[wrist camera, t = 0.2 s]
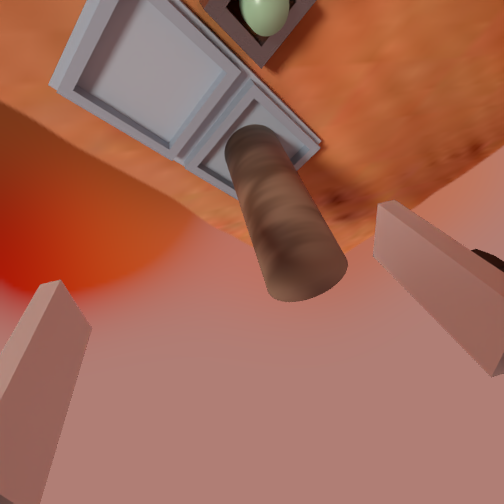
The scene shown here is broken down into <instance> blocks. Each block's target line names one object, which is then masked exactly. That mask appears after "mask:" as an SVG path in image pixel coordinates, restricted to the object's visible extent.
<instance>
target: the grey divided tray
mask: <svg viewBox="0 0 504 504" xmlns="http://www.w3.org/2000/svg"><path fill="white" fill-rule="evenodd" d="M48 85H49V86H51V87H52V88H54V89H56V90H57V93H58V94H60V95H62V96H63V97H65V98H67V99H68V100H70V101H72V102H73V103H75V104H77V105H78V106H80V107H82V108H84V109H85V110H87V111H89V112H90V113H92V114H94V115H95V116H97V117H99V118H100V119H102V120H104V121H105V122H107V123H109V124H111V125H112V126H114V127H116V128H117V129H119V130H121V131H122V132H124V133H126V134H127V135H129V136H131V137H132V138H134V139H136V140H137V141H139V142H141V143H143V144H144V145H146V146H148V147H149V148H151V149H153V150H154V151H156V152H158V153H159V154H161V155H163V156H164V157H166V158H168V159H170V160H171V161H173V160H175V161H176V162H178V163H180V164H181V165H183V166H185V169H186V170H188V171H190V172H191V173H193V174H195V175H197V176H198V177H200V178H202V179H203V180H205V181H207V182H208V183H210V184H212V185H213V186H215V187H217V188H218V189H220V190H222V191H224V192H225V193H227V194H229V195H230V196H232V197H234V198H235V199H237V200H238V197H237V194H236V191H235V188H234V185H233V182H232V179H231V176H230V173H229V170H228V167H227V163H226V160H225V156H224V151H225V146H226V143H227V141H228V140H229V138H230V137H231V135H232V134H233V133H234V132H236V131H237V130H238V129H240V128H242V127H244V126H247V125H252V124H259V125H263V126H266V127H268V128H270V129H271V130H272V131H273V132H274V133H275V134H276V136H277V138H278V139H279V141H280V143H281V145H282V146H283V148H284V150H285V152H286V153H287V155H288V157H289V159H290V161H291V162H292V164H293V166H294V168H295V169H296V171H297V170H298V169H299V168H301V167H302V166H303V165H304V164H305V163H306V162H307V161H308V160H309V159H310V158H311V157H312V156H313V155H314V154H315V153H316V152H317V151H318V150H319V149H320V147H319V145H318V144H319V143H320V142H321V140H320V139H319V137H318V136H317V135H316V134H315V133H314V132H313V131H312V130H311V129H310V128H309V127H308V126H307V125H306V124H305V123H304V122H303V121H302V120H301V119H300V118H299V117H298V116H297V115H296V114H295V113H294V112H293V111H292V110H291V109H290V108H289V107H288V106H287V105H286V104H285V103H284V102H283V101H282V100H281V99H280V98H279V97H278V96H277V95H276V94H275V93H274V92H273V91H272V90H271V89H270V88H269V87H268V86H267V85H266V84H265V83H264V82H263V81H262V80H261V79H260V78H259V77H258V76H257V75H256V74H255V73H254V72H253V71H252V70H251V69H250V68H249V67H248V66H247V65H246V64H245V63H244V62H243V61H242V60H241V59H240V58H238V57H237V56H236V55H235V54H234V53H233V52H232V51H231V50H230V49H229V48H228V47H227V46H226V45H225V44H224V43H223V42H222V41H221V40H220V39H219V38H218V37H217V36H216V35H215V34H214V33H213V32H212V31H211V30H210V29H209V28H208V27H207V26H206V25H205V24H204V23H203V22H202V21H201V20H200V19H199V18H198V17H197V16H196V15H195V14H194V13H193V12H192V11H191V10H190V9H189V8H188V7H187V6H186V5H185V4H184V3H183V2H182V1H181V0H87V1H86V3H85V6H84V8H83V10H82V12H81V14H80V17H79V19H78V21H77V23H76V25H75V27H74V30H73V32H72V34H71V36H70V38H69V40H68V43H67V45H66V47H65V49H64V51H63V54H62V56H61V58H60V60H59V62H58V64H57V67H56V69H55V71H54V73H53V75H52V77H51V80H50V82H49V84H48Z"/></svg>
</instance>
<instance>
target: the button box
mask: <svg viewBox="0 0 504 504" xmlns="http://www.w3.org/2000/svg"><path fill="white" fill-rule="evenodd" d="M229 1H230V0H200V1H199V2H200V4H201V5H202V7H203V9H204V10H205V11H206V12H207V13H208V14H209V15H210V16H211V17H212V18H213V19H214V20H215V21H216V22H217V23H218V24H219V25H220V26H221V28H222V29H223V30H224V31H225V32H226V33H227V34H228V35H229V36H230V37H231V38H232V39H233V40H234V41H235V42H236V43H237V44H238V45H239V46H240V47H241V48H242V49H243V50H244V51H245V52H246V53H247V54H248V55H249V56H250V57H251V58H252V59H253V60H254V62H255V63H256V64H257V65H258V66H259V67H260V68H261V69H262V67H263V66H264V65H265V64H266V62H267V61H268V60H269V59H270V57H271V56H272V55H273V54H274V52H275V51H276V50H277V49H278V47H279V46H280V45H281V44H282V42H283V41H284V40H285V39H286V38H287V36H288V35H289V34H290V33H291V31H292V30H293V29H294V28H295V26H296V25H297V24H298V23H299V21H300V20H301V19H302V18H303V16H304V15H305V14H306V13H307V11H308V10H309V9H310V8H311V6H312V5H313V4H314V3H315V1H316V0H289V13H288V17H287V20H286V22H285V24H284V26H283V27H282V28H281V29H280V30H279V31H278V32H277V33H276V34H274V35H271V36H261V35H258V34H256V35H255V36H254V37H253V36H252V35H251V34H250V33H249V31H248V30H247V29H246V28H245V27H244V26H243V25H242V24H241V23H240V22H239V20H238V19H237V18H236V17H235V16H234V15H233V14H232V13H231V12H230V11H229V9H228V8H227V7H226V6H227V4H228V3H229Z"/></svg>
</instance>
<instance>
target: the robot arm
mask: <svg viewBox="0 0 504 504" xmlns="http://www.w3.org/2000/svg"><path fill="white" fill-rule="evenodd" d="M373 257H374V258H375V259H376V260H377V261H378V262H379V263H381V265H382V266H383V267H384V268H385V269H386V270H387V271H388V272H389V273H390V274H391V275H392V276H393V277H394V278H395V279H396V280H397V281H398V282H399V283H400V284H401V285H402V286H403V287H404V288H405V289H406V290H407V291H408V292H409V293H410V295H412V297H413V298H414V299H416V301H417V302H418V303H419V304H420V305H421V306H422V307H423V308H424V309H425V310H426V311H427V312H428V313H429V314H430V315H431V316H432V317H433V318H434V319H435V320H436V321H437V322H438V323H439V324H440V325H441V326H442V327H443V328H444V329H445V330H446V331H447V332H448V333H449V334H450V335H451V337H453V339H454V340H456V342H457V343H458V344H459V345H460V346H461V347H462V348H463V349H464V350H465V351H466V352H467V353H468V354H469V355H470V356H471V357H472V358H473V359H474V360H475V361H476V362H477V363H478V364H479V365H480V366H481V367H482V368H483V369H484V370H485V371H486V372H487V373H488V374H489V375H490V376H491V377H494V376H497V375H500V374H504V261H502V260H500V259H499V258H497V257H496V256H494V255H491V254H489V253H486V252H483V251H481V250H478V249H475V250H469V249H468V248H466V247H465V246H463V245H462V244H460V243H458V242H457V241H456V240H454V239H453V238H451V237H450V236H448V235H446V234H445V233H444V232H442V231H441V230H439V229H438V228H436V227H435V226H433V225H432V224H430V223H429V222H427V221H425V220H424V219H423V218H421V217H420V216H418V215H417V214H415V213H414V212H412V211H411V210H409V209H408V208H406V207H405V206H403V205H402V204H400V203H399V202H397V201H396V200H391V201H387V202H383V203H379V204H378V207H377V218H376V229H375V241H374V251H373ZM91 330H92V327H91V326H90V324H89V322H88V321H87V320H86V318H85V316H84V315H83V313H82V312H81V310H80V309H79V307H78V306H77V304H76V303H75V301H74V299H73V298H72V296H71V295H70V293H69V292H68V290H67V289H66V287H65V286H64V284H63V283H62V281H61V280H58V281H54V282H49V283H45V284H41V285H40V286H39V288H38V290H37V291H36V293H35V294H34V296H33V298H32V300H31V302H30V303H29V305H28V307H27V308H26V310H25V312H24V314H23V315H22V317H21V319H20V320H19V322H18V324H17V326H16V327H15V329H14V331H13V333H12V334H11V336H10V338H9V340H8V341H7V343H6V345H5V347H4V348H3V350H2V352H1V353H0V504H40V501H41V498H42V495H43V491H44V488H45V485H46V481H47V478H48V474H49V471H50V468H51V464H52V461H53V458H54V454H55V451H56V448H57V444H58V441H59V437H60V434H61V431H62V427H63V424H64V421H65V417H66V414H67V411H68V407H69V404H70V401H71V397H72V394H73V391H74V387H75V384H76V380H77V377H78V374H79V370H80V367H81V363H82V360H83V357H84V354H85V350H86V347H87V343H88V340H89V336H90V333H91Z"/></svg>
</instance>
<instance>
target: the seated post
mask: <svg viewBox="0 0 504 504" xmlns="http://www.w3.org/2000/svg"><path fill="white" fill-rule="evenodd" d="M224 156H225V160H226V163H227V167H228V170H229V173H230V176H231V179H232V182H233V185H234V188H235V191H236V194H237V197H238V200H239V203H240V207H241V210H242V213H243V216H244V219H245V222H246V225H247V228H248V231H249V234H250V237H251V240H252V243H253V247H254V249H255V252H256V256H257V259H258V262H259V265H260V268H261V271H262V274H263V277H264V280H265V283H266V286H267V290H268V292H269V294H270V295H271V296H272V297H273V298H274V299H277V300H280V301H284V302H296V301H303V300H307V299H310V298H313V297H316V296H318V295H320V294H322V293H324V292H326V291H328V290H329V289H331V288H332V287H333V286H334V285H336V284H337V283H338V282H339V281H340V280H341V279H342V277H343V276H344V274H345V273H346V270H347V267H348V262H347V259H346V257H345V255H344V253H343V252H342V250H341V248H340V246H339V245H338V243H337V241H336V239H335V238H334V236H333V234H332V232H331V231H330V229H329V227H328V225H327V224H326V222H325V220H324V218H323V217H322V215H321V213H320V211H319V210H318V208H317V206H316V204H315V203H314V201H313V199H312V197H311V196H310V194H309V192H308V190H307V189H306V187H305V185H304V183H303V182H302V180H301V178H300V176H299V175H298V173H297V171H296V169H295V168H294V166H293V164H292V162H291V161H290V159H289V157H288V155H287V153H286V152H285V150H284V148H283V146H282V145H281V143H280V141H279V139H278V138H277V136H276V134H275V133H274V132H273V131H272V130H271V129H270V128H268V127H266V126H263V125H259V124H252V125H247V126H244V127H242V128H240V129H238V130H237V131H236V132H234V133H233V134H232V135H231V137H230V138H229V140H228V141H227V143H226V146H225V151H224Z"/></svg>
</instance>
